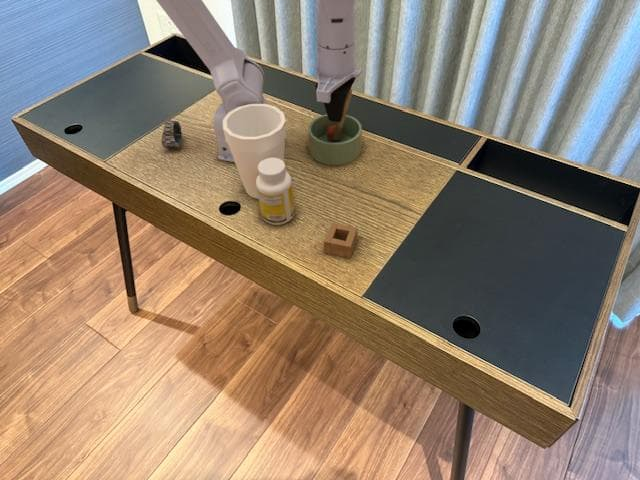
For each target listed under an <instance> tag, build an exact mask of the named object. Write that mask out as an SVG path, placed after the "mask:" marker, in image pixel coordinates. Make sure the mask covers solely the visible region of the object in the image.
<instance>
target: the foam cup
mask: <svg viewBox="0 0 640 480" xmlns="http://www.w3.org/2000/svg"><path fill="white" fill-rule="evenodd" d="M286 124H287V123H286V116H285V113H284V112H283V111H282V110H280V108H278V107H277V106H273V105H271V104H268V105H267V104H249V105H244V106H240V107H238V108H236V109H234V110H232V111H231V112H229V113H228V114H227V115H226V117H225V118H224V119H223V130H224V135H225V140H226V142H227V143H228V145H229V148H230V150H231V153H232V156H233V158H234V161H235V162H234V163H235V167H236V169H237V172H238V174H239V178H240V179H241V182H242V184H243V187H244V190H245V192H246V193H247V194H248V196H250V197H252V198H255V199H257V200H259V199H258V193H257V188H256V179H257V177H258V175H259V173H258V165H259V163H260V162H261V161H263V160H265V159H267V158H279V159H281V160H282V161H283V162H284V163H285V150H286V149H285V147H286V136H287V125H286Z"/></svg>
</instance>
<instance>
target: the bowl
mask: <svg viewBox="0 0 640 480" xmlns="http://www.w3.org/2000/svg"><path fill="white" fill-rule="evenodd" d="M336 123H337V122H335V121H329V119H328V116H327V113H326V114H323V115H320V116H317V117H315V118H314V119H313V120H312V121H311V122H310V123H309V125H308V131H307V133H308V149H309V154H310V156H311V157H312V158H313V159H314V160H315V161H316V162H319V163H321V164H324V165H329V166H330V165H331V166H341V165H345V164H349V163H351V162H353V161H355V160H356V159H357V158H358V157H359V156H360V154H361V152H362V139H363V128H362V127H363V126H362V124H361V123H360V121H359V120H358V119H357V118H355V117H354V116H351V115H349V114H346V116H345V120H344V124H343V127H342V137H341V138H340V139H339V140H337V141H331V140H330V139H328V137H327V135H326V130H327V128H328V127H329V126H330V125H332V124H336Z"/></svg>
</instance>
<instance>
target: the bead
mask: <svg viewBox="0 0 640 480" xmlns="http://www.w3.org/2000/svg"><path fill="white" fill-rule="evenodd" d="M335 127H336V124H332V125H330V126H329V127H328V128H327V130H326V135H327V137H328V139H330V140H331V141H337V140H339V139H340V138H341V137H342V131H341V134H340V138H339V139H334V137H333V135H334V131H335Z"/></svg>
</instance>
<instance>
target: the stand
mask: <svg viewBox="0 0 640 480" xmlns="http://www.w3.org/2000/svg"><path fill="white" fill-rule="evenodd" d="M358 230H359V228H358V227H356V226H351V225H346V224H341V223H337V222H331V223H330V226H329V228H328V230H327V233H326V236H325V238H324V241H323V252H324V253H325V254H328V255H334V256H338V257H343V258H347V259H351V258H352V255H353V251H354V249H355V247H356V244H357V241H358Z"/></svg>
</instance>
